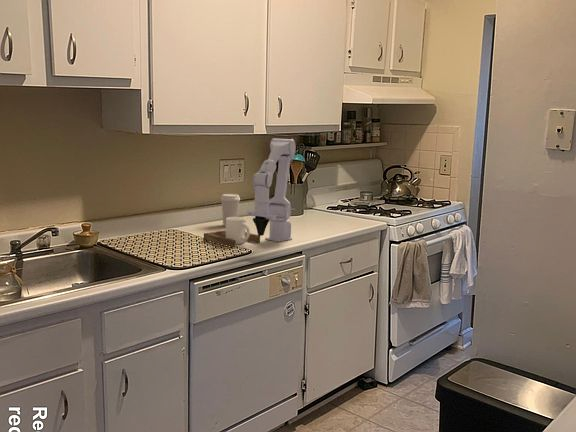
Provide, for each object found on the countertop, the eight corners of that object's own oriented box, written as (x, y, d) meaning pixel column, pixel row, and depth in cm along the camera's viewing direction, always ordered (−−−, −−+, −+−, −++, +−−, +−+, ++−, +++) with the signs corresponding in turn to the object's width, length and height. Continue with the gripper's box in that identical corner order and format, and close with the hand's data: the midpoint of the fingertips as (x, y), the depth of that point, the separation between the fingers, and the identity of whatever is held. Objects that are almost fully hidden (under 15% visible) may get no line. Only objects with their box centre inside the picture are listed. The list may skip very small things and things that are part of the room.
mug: (255, 244, 246) (256, 220, 244) (242, 247, 240) (242, 222, 238) (235, 239, 254) (235, 216, 252) (221, 242, 247) (221, 218, 246)
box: (231, 235, 261) (231, 228, 261) (260, 242, 250) (260, 235, 249) (203, 240, 249) (203, 233, 249) (232, 247, 238) (232, 240, 237)
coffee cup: (216, 224, 284) (216, 194, 282) (233, 223, 290) (233, 193, 287) (226, 228, 277) (227, 196, 274) (243, 226, 283) (244, 195, 280)
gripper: (242, 200, 237) (241, 233, 239) (268, 205, 228) (267, 239, 230) (254, 199, 242) (253, 231, 245) (280, 203, 233) (279, 237, 235)
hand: (260, 235), depth 238 cm, fingers closed
